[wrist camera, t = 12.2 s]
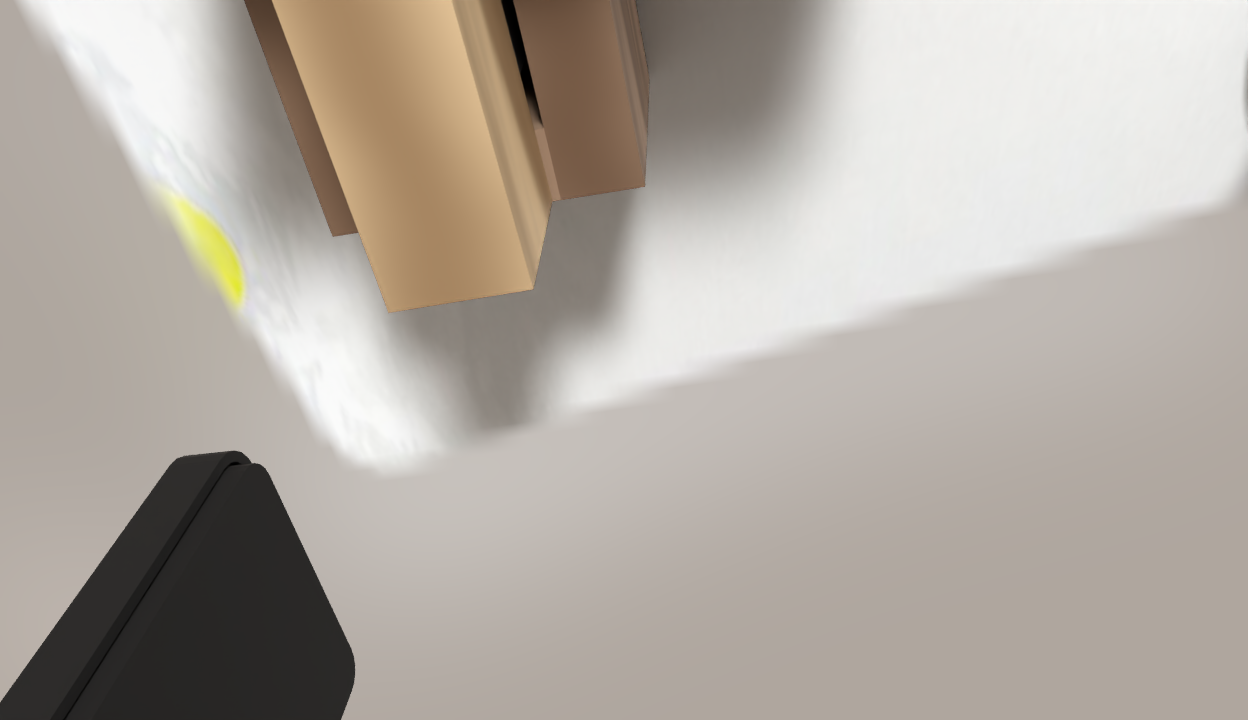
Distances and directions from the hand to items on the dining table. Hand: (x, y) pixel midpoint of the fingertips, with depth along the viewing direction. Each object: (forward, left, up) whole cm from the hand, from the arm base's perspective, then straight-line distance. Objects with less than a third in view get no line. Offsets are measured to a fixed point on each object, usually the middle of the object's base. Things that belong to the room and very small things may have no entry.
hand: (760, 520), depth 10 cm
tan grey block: (+7, -1, -24) cm, 25 cm away
